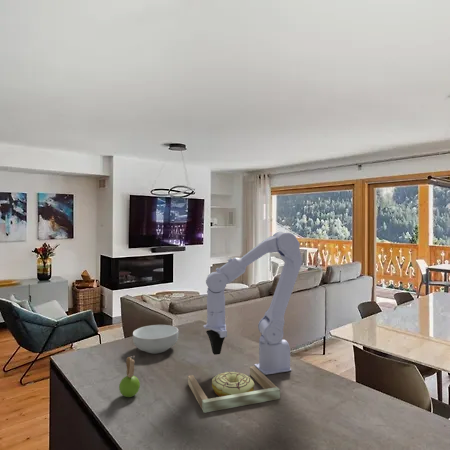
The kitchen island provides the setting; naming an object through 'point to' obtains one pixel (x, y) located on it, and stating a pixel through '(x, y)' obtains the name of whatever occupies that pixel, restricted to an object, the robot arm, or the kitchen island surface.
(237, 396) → the wooden bar frame
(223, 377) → the decorated donut
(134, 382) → the snail figurine
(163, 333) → the cereal bowl
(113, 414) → the kitchen island surface
